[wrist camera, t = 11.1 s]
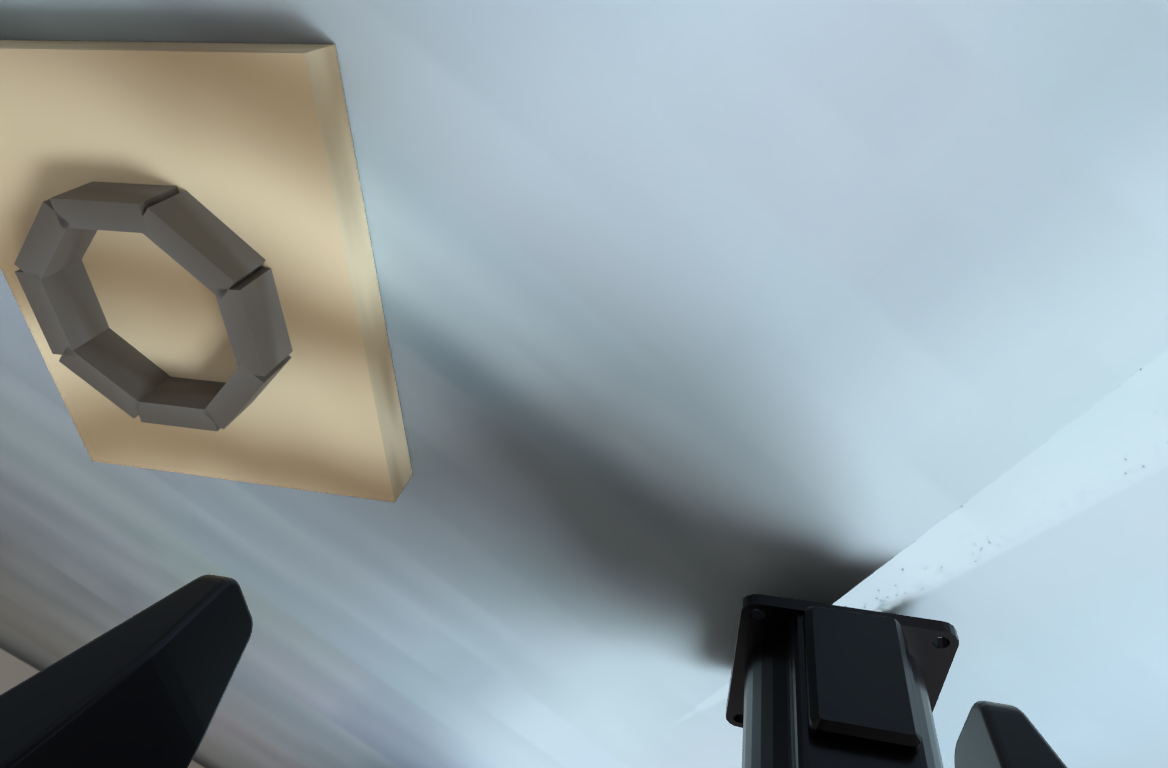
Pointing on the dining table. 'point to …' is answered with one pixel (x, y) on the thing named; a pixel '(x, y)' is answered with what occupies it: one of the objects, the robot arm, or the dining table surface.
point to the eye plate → (260, 190)
